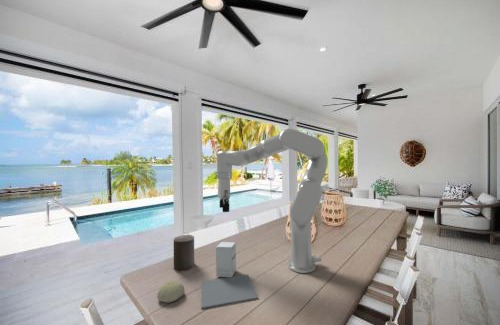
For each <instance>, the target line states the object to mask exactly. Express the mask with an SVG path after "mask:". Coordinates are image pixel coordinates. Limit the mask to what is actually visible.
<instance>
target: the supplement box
mask: <svg viewBox="0 0 500 325" xmlns="http://www.w3.org/2000/svg"><path fill="white" fill-rule="evenodd" d="M236 246H237V243H236V241H235V242H232V241H222V242H220V243H219V244H218V245H217V246H216V247H215V264H216V265H215V266H216V267H215V269H216V270H215V271H216V274H215V275H216V277H217V278H218V277H219V278H220V277H221V278H227V277H234V274H235V273H236V271H237V248H236Z"/></svg>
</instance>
